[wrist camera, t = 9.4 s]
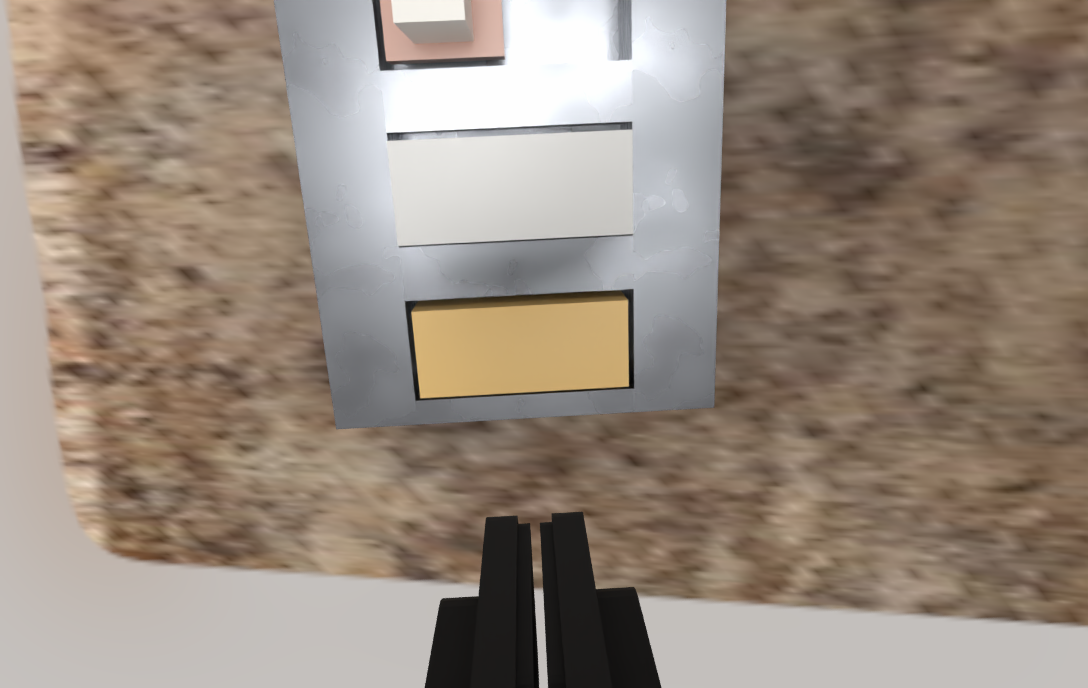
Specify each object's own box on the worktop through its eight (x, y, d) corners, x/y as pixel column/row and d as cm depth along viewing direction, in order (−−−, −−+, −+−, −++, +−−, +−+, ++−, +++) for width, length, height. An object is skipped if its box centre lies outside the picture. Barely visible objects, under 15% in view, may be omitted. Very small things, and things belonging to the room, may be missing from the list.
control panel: (697, -73, 25) (729, -112, 22) (689, 374, 31) (714, 407, 27) (299, -58, 25) (260, -95, 21) (359, 393, 30) (336, 429, 26)
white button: (624, 130, 24) (632, 129, 22) (624, 227, 24) (633, 234, 23) (395, 141, 23) (386, 141, 22) (406, 239, 24) (397, 246, 23)
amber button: (620, 290, 26) (627, 300, 25) (621, 371, 27) (628, 386, 26) (418, 300, 26) (411, 311, 25) (426, 382, 27) (420, 398, 25)
